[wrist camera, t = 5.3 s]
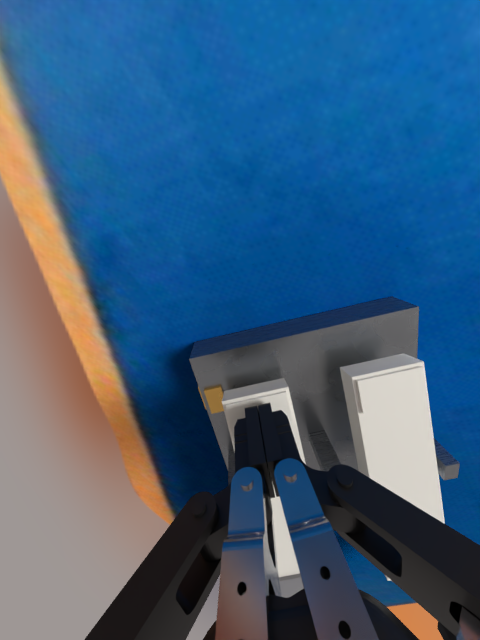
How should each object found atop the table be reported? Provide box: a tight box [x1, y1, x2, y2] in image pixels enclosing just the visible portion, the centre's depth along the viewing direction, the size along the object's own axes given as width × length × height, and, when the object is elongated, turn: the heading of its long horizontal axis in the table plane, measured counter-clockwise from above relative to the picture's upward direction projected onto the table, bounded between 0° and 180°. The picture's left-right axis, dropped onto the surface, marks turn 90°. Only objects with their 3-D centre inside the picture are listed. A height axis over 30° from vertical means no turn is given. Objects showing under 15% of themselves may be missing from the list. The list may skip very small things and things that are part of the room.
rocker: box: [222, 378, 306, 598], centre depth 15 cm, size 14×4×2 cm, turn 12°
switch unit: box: [189, 297, 460, 485], centre depth 17 cm, size 18×15×7 cm
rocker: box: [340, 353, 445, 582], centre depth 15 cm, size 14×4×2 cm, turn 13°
